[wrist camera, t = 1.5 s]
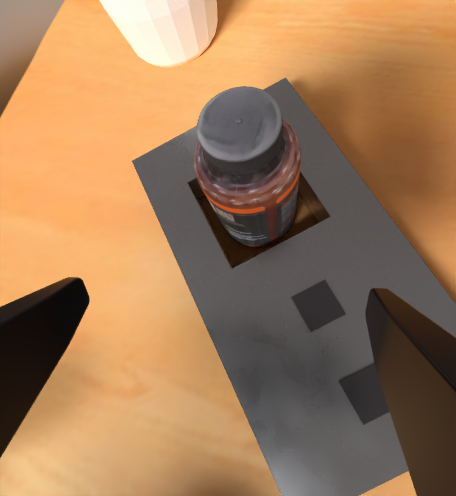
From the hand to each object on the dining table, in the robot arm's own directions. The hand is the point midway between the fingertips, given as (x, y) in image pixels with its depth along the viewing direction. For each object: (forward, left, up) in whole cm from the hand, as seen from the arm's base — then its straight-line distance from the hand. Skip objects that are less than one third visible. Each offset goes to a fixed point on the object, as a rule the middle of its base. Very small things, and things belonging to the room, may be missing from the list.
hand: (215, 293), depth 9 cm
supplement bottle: (+7, -4, -14) cm, 16 cm away
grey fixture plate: (+2, -4, -13) cm, 14 cm away
